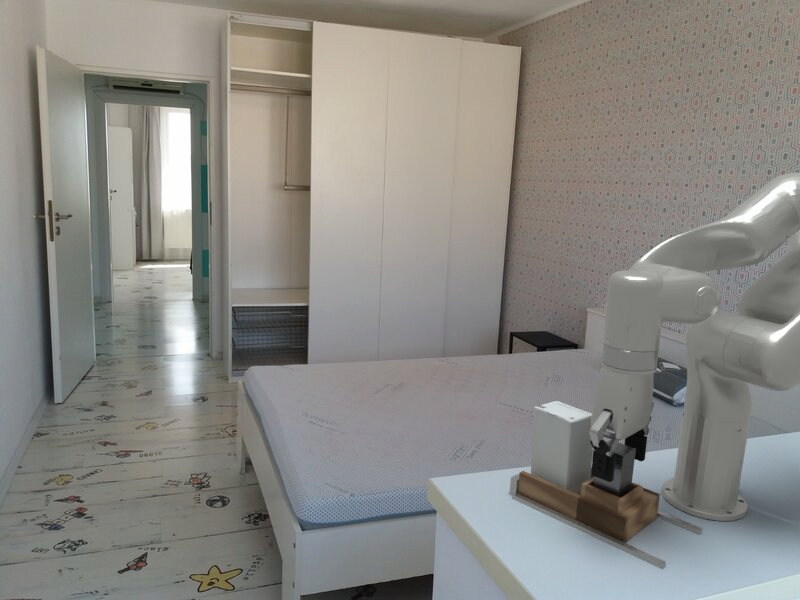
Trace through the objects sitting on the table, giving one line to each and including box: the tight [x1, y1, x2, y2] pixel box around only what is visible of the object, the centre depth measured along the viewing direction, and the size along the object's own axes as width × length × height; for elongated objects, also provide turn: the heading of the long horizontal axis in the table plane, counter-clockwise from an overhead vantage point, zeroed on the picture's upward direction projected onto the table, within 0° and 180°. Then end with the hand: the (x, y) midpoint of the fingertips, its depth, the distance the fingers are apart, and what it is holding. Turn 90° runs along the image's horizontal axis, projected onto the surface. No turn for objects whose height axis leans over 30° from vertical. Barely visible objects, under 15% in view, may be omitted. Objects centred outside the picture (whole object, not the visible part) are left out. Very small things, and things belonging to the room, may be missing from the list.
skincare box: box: [530, 400, 593, 495], centre depth 103 cm, size 8×6×15 cm
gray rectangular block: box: [593, 439, 636, 498], centre depth 95 cm, size 4×4×8 cm
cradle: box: [518, 467, 661, 543], centre depth 100 cm, size 11×18×6 cm, turn 44°
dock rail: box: [509, 473, 704, 570], centre depth 98 cm, size 14×26×3 cm, turn 44°
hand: (618, 467), depth 95 cm, fingers open, 9 cm apart
